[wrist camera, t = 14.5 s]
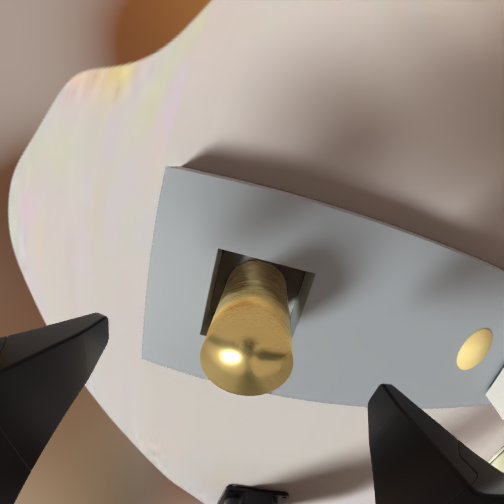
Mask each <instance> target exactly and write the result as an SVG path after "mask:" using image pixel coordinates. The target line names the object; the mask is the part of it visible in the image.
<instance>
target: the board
mask: <svg viewBox="0 0 504 504" xmlns="http://www.w3.org/2000/svg"><path fill="white" fill-rule="evenodd" d="M223 250H227V251H231V252H234V253H238V254H242V255H246V256H250V257H253V258H257V259H261V260H265V261H269V262H272V263H276V264H280V265H284V266H288V267H292V268H295V269H299V270H303V271H306V273H305V276H304V279H303V282H302V285H301V288H300V291H299V294H298V297H297V300H296V302H295V305H294V308H293V311H292V314H291V317H290V328H291V339H292V351H293V369H292V372H291V374H290V376H289V378H288V379H287V381H286V382H285V383H284V384H283V385H281V386H280V387H279V388H277V389H275V390H274V391H271V392H269V393H267V394H272V395H277V396H282V397H288V398H294V399H300V400H307V401H314V402H322V403H330V404H339V405H348V406H360V407H368V402H369V400H370V398H371V397H372V395H373V394H374V392H375V391H376V389H377V387H378V386H379V385H380V384H382V383H384V384H392V385H393V386H394V387H396V388H397V389H398V390H399V391H400V392H402V393H403V394H404V395H405V396H406V397H407V398H409V399H410V400H411V401H412V402H413V403H415V404H416V405H417V406H418V407H419V408H421V409H433V408H455V407H469V406H480V405H489V404H492V403H491V402H490V401H489V399H488V398H487V396H486V393H487V392H488V390H489V389H490V388H491V386H492V385H493V383H494V382H495V380H496V379H497V377H498V376H499V374H500V373H501V371H502V369H503V368H504V270H503V269H501V268H498V267H496V266H494V265H492V264H490V263H487V262H485V261H483V260H480V259H478V258H476V257H474V256H471V255H469V254H466V253H464V252H462V251H459V250H457V249H454V248H452V247H449V246H447V245H444V244H442V243H439V242H437V241H434V240H432V239H429V238H426V237H424V236H421V235H419V234H416V233H413V232H410V231H408V230H405V229H402V228H399V227H397V226H394V225H391V224H388V223H385V222H382V221H379V220H376V219H373V218H371V217H368V216H365V215H361V214H358V213H355V212H352V211H349V210H346V209H343V208H340V207H336V206H333V205H330V204H327V203H323V202H320V201H317V200H313V199H310V198H306V197H303V196H299V195H296V194H292V193H289V192H285V191H281V190H278V189H274V188H270V187H266V186H262V185H259V184H255V183H251V182H247V181H243V180H239V179H234V178H230V177H226V176H222V175H217V174H213V173H209V172H204V171H200V170H195V169H190V168H185V167H166V168H165V173H164V178H163V183H162V188H161V193H160V198H159V204H158V210H157V215H156V221H155V228H154V234H153V241H152V248H151V256H150V263H149V272H148V281H147V290H146V301H145V313H144V326H143V344H142V359H144V360H147V361H150V362H153V363H156V364H158V365H161V366H164V367H167V368H171V369H174V370H177V371H180V372H183V373H186V374H190V375H193V376H197V377H200V378H204V379H207V380H210V379H209V378H208V377H207V376H206V375H205V373H204V371H203V369H202V367H201V363H200V352H201V349H202V346H203V343H204V340H205V338H206V335H207V333H208V330H209V327H210V325H211V322H212V320H213V317H214V316H211V315H208V314H209V310H210V305H211V300H212V296H213V291H214V287H215V282H216V278H217V273H218V269H219V264H220V260H221V255H222V251H223Z"/></svg>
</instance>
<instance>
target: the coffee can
mask: <svg viewBox="0 0 504 504" xmlns="http://www.w3.org/2000/svg"><path fill="white" fill-rule="evenodd" d="M488 463H490V464H491V465H492V466H494V467H495V468H497V469H498V470H500V471H501V472H503V473H504V446H503V447H502V448H501V449H500V450H499V451H498V452H497V453H496V454H494V456H493V457H492V458H491V459H490V460H489V461H488Z"/></svg>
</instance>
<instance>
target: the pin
mask: <svg viewBox="0 0 504 504" xmlns="http://www.w3.org/2000/svg"><path fill="white" fill-rule="evenodd" d="M200 363H201V367H202V369H203V371H204V373H205V375H206V376H207V377H208V378H209V379H210V380H211V382H213V383H214V384H215V385H216V386H218V387H220V388H221V389H223V390H225V391H228V392H230V393H234V394H238V395H245V396H255V395H262V394H266V393H269V392H271V391H274V390H275V389H277V388H279V387H280V386H281V385H283V384H284V383H285V382H286V381H287V379H288V378H289V376H290V374H291V372H292V369H293V351H292V339H291V328H290V318H289V307H288V297H287V288H286V281H285V278H284V276H283V275H282V273H281V272H280V271H279V270H278V269H277V268H276V267H275V266H274V265H272V264H270V263H268V262H265V261H259V260H253V261H247V262H244V263H242V264H240V265H239V266H237V267H236V268H235V269H234V270H233V271H232V273H231V274H230V276H229V278H228V281H227V283H226V286H225V288H224V291H223V294H222V296H221V299H220V301H219V304H218V307H217V309H216V312H215V314H214V317H213V320H212V322H211V325H210V327H209V330H208V333H207V335H206V338H205V340H204V343H203V346H202V349H201V352H200Z"/></svg>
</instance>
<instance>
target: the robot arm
mask: <svg viewBox="0 0 504 504" xmlns="http://www.w3.org/2000/svg"><path fill="white" fill-rule="evenodd" d="M108 339H109V327H108V318H107V317H106V316H104V315H102V314H99V313H93V314H89V315H85V316H82V317H78V318H74V319H70V320H67V321H63V322H59V323H55V324H52V325H48V326H44V327H40V328H36V329H32V330H29V331H25V332H21V333H17V334H13V335H9V336H8V337H6V336H5V337H1V338H0V504H14V503H15V501H16V499H17V497H18V495H19V493H20V491H21V489H22V487H23V485H24V484H25V482H26V480H27V478H28V476H29V474H30V473H31V470H32V469H33V467H34V465H35V463H36V462H37V460H38V458H39V456H40V455H41V453H42V451H43V449H44V448H45V446H46V445H47V443H48V441H49V440H50V438H51V436H52V434H53V433H54V431H55V430H56V428H57V427H58V425H59V423H60V422H61V420H62V418H63V417H64V415H65V414H66V412H67V411H68V409H69V408H70V406H71V405H72V403H73V401H74V400H75V399H76V397H77V396H78V394H79V392H80V391H81V389H82V388H83V386H84V385H85V384H86V382H87V380H88V379H89V377H90V375H91V373H92V372H93V370H94V368H95V366H96V364H97V362H98V360H99V358H100V356H101V354H102V352H103V351H104V349H105V347H106V345H107V343H108ZM368 427H369V446H370V454H371V462H372V471H373V480H374V490H375V502H376V504H504V473H503V472H501V471H500V470H498V469H497V468H495V467H494V466H492V465H491V464H490V463H488V462H487V461H485V460H484V459H482V458H481V457H479V456H478V455H477V454H475V453H474V452H473V451H471V450H470V449H469V448H468V447H466V446H465V445H464V444H463V443H461V442H460V441H459V440H458V441H457V439H456V438H455V437H454V436H453V435H452V434H450V433H449V432H448V431H447V430H446V429H444V428H443V427H442V426H441V425H440V424H438V423H437V422H436V421H435V420H434V419H432V418H431V417H430V416H429V415H428V414H426V413H425V412H424V411H423V410H422V409H421V408H419V407H418V406H417V405H416V404H415V403H413V402H412V401H411V400H410V399H409V398H407V397H406V396H405V395H404V394H403V393H402V392H400V391H399V390H398V389H397V388H396V387H394V386H393V385H392V384H384V383H382V384H380V385H379V386H378V387H377V389H376V391H375V392H374V394H373V395H372V397H371V398H370V400H369V402H368ZM288 498H289V494H288V493H279V492H269V491H260V490H253V489H246V488H240V487H234V486H227V487H226V488H225V490H224V492H223V494H222V495H221V497H220V499H219V501H218V503H217V504H283V503H284V502H285V501H286V500H287V499H288Z"/></svg>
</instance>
